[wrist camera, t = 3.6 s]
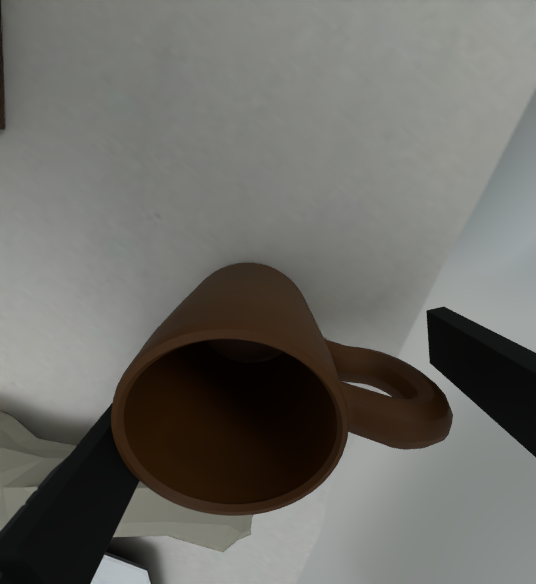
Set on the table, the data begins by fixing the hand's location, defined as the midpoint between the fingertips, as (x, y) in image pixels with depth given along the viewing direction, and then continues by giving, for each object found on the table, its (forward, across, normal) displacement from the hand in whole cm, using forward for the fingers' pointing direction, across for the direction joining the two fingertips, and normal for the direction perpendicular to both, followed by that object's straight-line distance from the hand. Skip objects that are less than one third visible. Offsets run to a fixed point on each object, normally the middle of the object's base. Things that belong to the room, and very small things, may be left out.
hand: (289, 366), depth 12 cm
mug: (+5, 0, 0) cm, 5 cm away
